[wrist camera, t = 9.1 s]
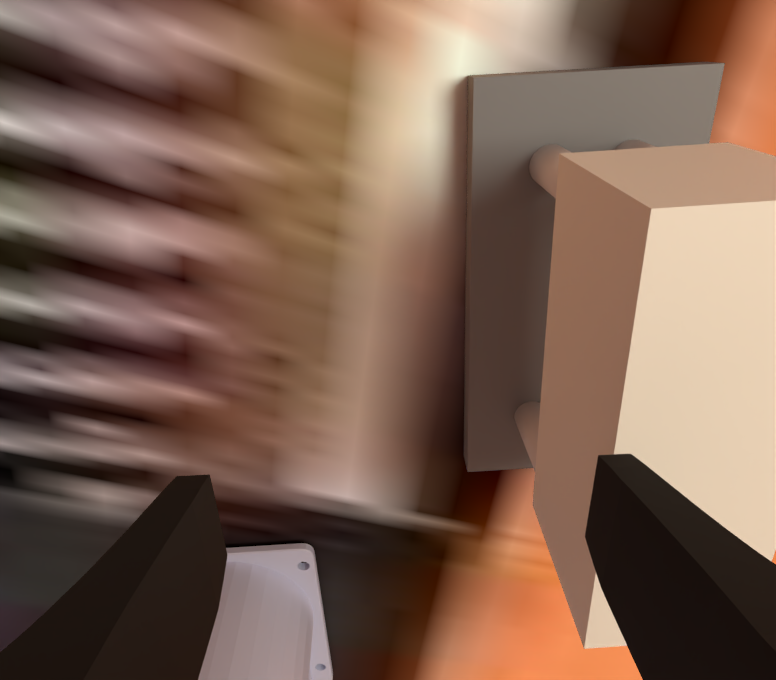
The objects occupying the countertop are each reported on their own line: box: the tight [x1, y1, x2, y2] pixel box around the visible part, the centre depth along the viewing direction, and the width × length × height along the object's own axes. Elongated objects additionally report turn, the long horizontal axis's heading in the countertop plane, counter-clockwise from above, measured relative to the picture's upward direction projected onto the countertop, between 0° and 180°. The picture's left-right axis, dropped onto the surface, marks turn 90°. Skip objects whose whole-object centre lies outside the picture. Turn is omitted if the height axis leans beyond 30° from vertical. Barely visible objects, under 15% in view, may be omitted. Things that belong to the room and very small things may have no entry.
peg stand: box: [464, 62, 725, 472], centre depth 18 cm, size 14×7×4 cm, turn 3°
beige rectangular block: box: [533, 142, 776, 649], centre depth 14 cm, size 11×4×5 cm, turn 3°
